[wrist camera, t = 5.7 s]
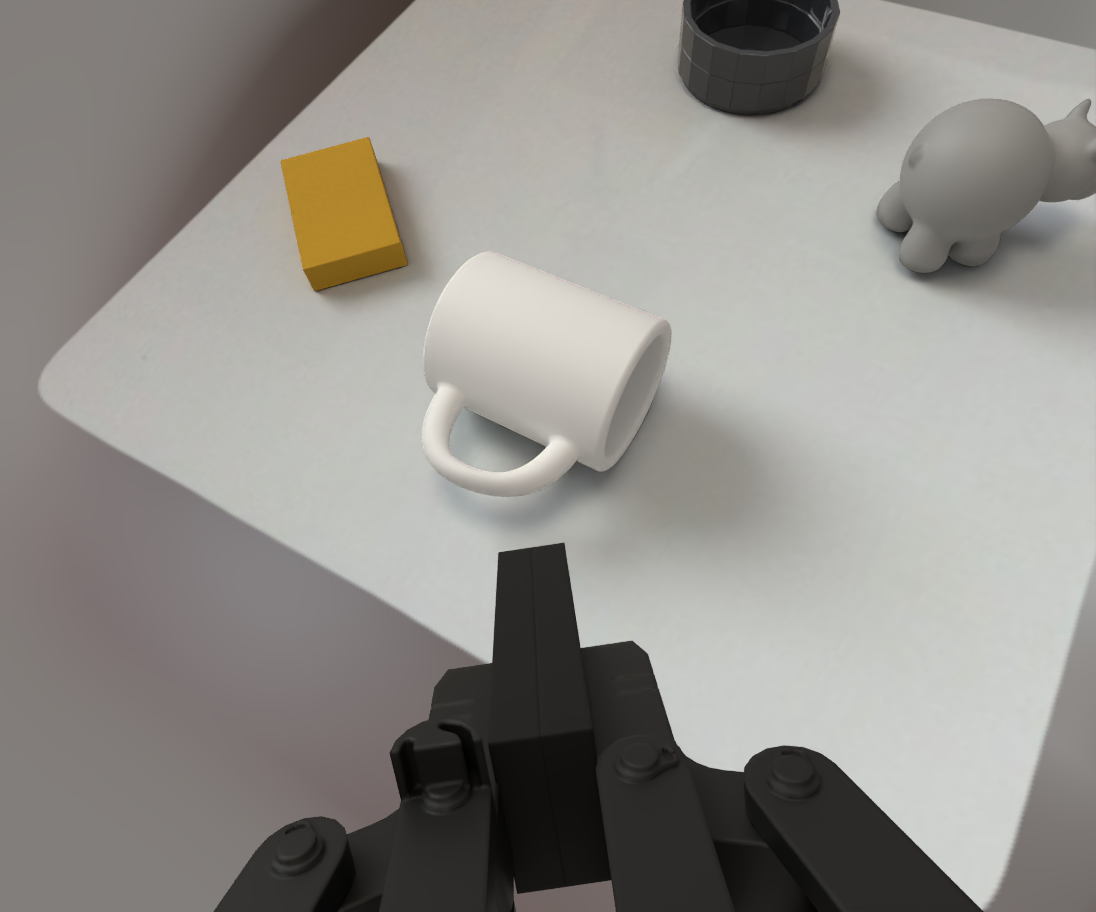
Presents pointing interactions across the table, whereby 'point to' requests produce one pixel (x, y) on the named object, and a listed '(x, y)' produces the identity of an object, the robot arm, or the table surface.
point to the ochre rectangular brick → (341, 214)
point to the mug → (537, 370)
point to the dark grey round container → (754, 51)
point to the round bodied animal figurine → (984, 179)
